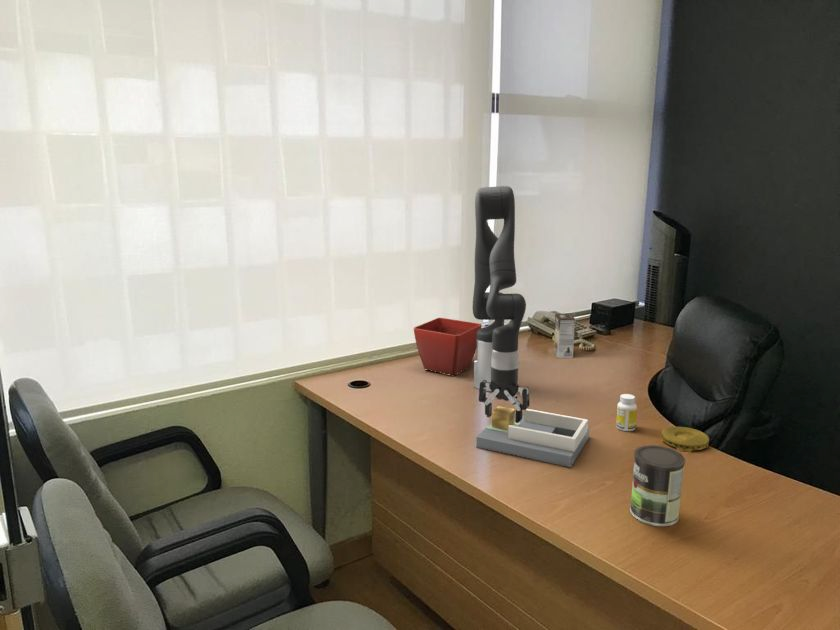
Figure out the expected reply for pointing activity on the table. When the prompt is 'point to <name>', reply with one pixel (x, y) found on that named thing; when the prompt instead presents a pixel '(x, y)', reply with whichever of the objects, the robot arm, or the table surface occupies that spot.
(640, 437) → the table surface
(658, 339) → the table surface
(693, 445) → the gold flat disc
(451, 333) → the plant pot
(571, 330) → the coffee box
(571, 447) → the walled pit deck
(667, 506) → the coffee can
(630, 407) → the supplement bottle
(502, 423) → the mustard block
